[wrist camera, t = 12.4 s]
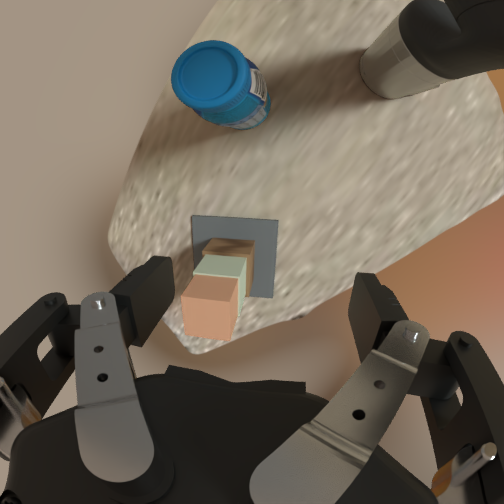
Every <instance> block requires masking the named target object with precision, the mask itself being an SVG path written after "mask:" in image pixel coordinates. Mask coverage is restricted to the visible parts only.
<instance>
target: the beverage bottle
mask: <svg viewBox="0 0 504 504" xmlns="http://www.w3.org/2000/svg"><path fill="white" fill-rule="evenodd" d="M171 83H172V88H173V90H174V92H175V94H176V96H177V97H178V98H179V100H181V102H183V103H184V104H186V105H187V106H188V107H191V108H193V110H194V111H195V112H196V113H197V114H198V115H199V116H200V117H202V118H203V119H205V120H207V121H210V122H212V123H214V124H217V125H220V126H227V127H232V128H235V129H240V130H245V129H251V128H254V127H256V126H258V125H259V124H261V123H262V122H263V121H264V120H265V118H266V117H267V115H268V113H269V111H270V106H271V101H270V96H269V94H268V92H267V86H266V82H265V80H264V78H263V76H262V74H261V73H260V71H259V69H258V68H257V67H256V65H255V64H254V63H253V62H251V61H250V60H249V59H247V58H245V57H244V55H243V54H242V53H241V52H240V51H239V50H238V49H237V48H236V47H234V46H233V45H231V44H229V43H226V42H223V41H216V40H210V41H204V42H200V43H197V44H195V45H193V46H191V47H190V48H188V49H187V50H186V51H184V52H183V53H182V54H181V55H180V57H179V58H178V59H177V61H176V63H175V65H174V67H173V70H172V75H171Z"/></svg>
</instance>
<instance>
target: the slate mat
mask: <svg viewBox="0 0 504 504" xmlns="http://www.w3.org/2000/svg"><path fill="white" fill-rule="evenodd" d="M192 230H193V253H194V270H195V269H196V267H197V266H198V264H199V263H200V262H201V260H202V259H203V256H202V251H203V249H204V248H205V247H206V245H207V244H208V243H209V242H210V240H211V239H212V238H228V239H242V240H255V254H254V279H253V283H252V287H251V291H250V295H249V296H251V297H263V298H273V289H274V276H275V263H276V248H277V234H278V220H267V219H252V218H235V217H217V216H197V215H193V216H192Z"/></svg>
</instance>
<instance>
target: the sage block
mask: <svg viewBox="0 0 504 504" xmlns="http://www.w3.org/2000/svg"><path fill="white" fill-rule="evenodd" d="M246 259H247V258H245V257H233V256H220V255H208V254H206V255H205V256H204V257H203V259H202V260H201V262H200V263H199V264H198V266H197V267H196V269H195V270H194V271H193V277H194V276H195V274H198V275H208V276H218V277H229V278H238V316H237V317H239V315H240V312H241V308H242V305H243V301H244V298H245V294H246Z"/></svg>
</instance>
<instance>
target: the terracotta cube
mask: <svg viewBox="0 0 504 504" xmlns="http://www.w3.org/2000/svg"><path fill="white" fill-rule="evenodd" d="M181 304H182V312H183V321H184V329H185V335H190V336H196V337H203V338H210V339H217V340H224V341H230V340H231V336H232V333H233V330H234V326H235V323H236V320H237V316H238V278H229V277H218V276H208V275H198V274H195V276H194V277H193V279H192V280H191V282H190V283H189V285H188V286H187V288H186V289H185V290H184V292H183V293H182V295H181Z"/></svg>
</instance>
